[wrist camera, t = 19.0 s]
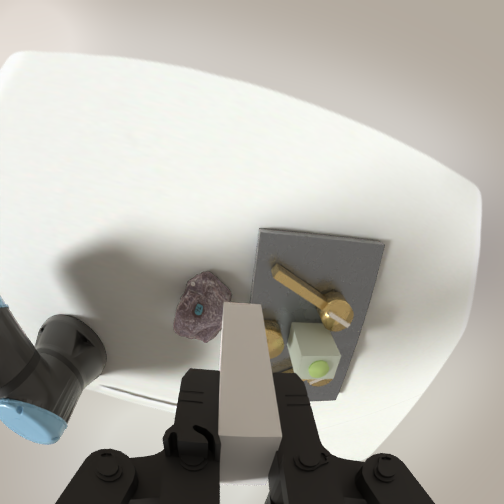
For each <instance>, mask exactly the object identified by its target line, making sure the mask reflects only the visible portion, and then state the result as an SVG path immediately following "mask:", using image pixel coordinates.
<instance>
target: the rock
mask: <svg viewBox="0 0 504 504" xmlns="http://www.w3.org/2000/svg"><path fill="white" fill-rule="evenodd" d="M231 295H232V293H231V291H230V290H229V289H228V288H227V287H226V286H225V285H224V284H223V283H222V282H220V281H219V279H218V278H217V277H216V276H214V275H213V274H212V273H211V272H209V271H207V272H202V273H201V274H197V275H196V276H195V277H194V278H192V279H190V280H189V281H188V282H187V286H186V290H185V292H184V294H183V295H182V296H181V299H180V303H179V304H178V306H177V309H176V314H175V318H174V323H173V328H174V331H175V332H176V333H177V334H178V335H180V336H184V337H187V338H190V339H193V338H195V339H198V340H202V341H203V342H204V343H207V342H208V341H209V340H211V339H213V338H214V337H216V335H217V334H218V332H219V331H220V330H221V329H222V319H223V307H224V302H230V301H231Z"/></svg>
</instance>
